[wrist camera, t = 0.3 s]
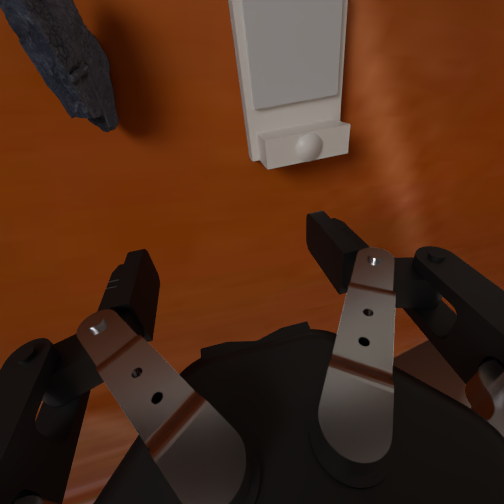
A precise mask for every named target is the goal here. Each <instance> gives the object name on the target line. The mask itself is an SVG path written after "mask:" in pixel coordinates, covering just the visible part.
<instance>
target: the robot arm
mask: <svg viewBox="0 0 504 504" xmlns="http://www.w3.org/2000/svg"><path fill="white" fill-rule="evenodd" d="M306 241H307V246H308V249H309V251H310V253H311V254H312V256H313V257H314V258H315V260H316V261H317V263H318V264H319V266H320V267H321V269H322V270H323V272H324V273H325V274H326V276H327V277H328V279H329V280H330V282H331V283H332V285H333V286H334V288H335V289H336V290H337V292H338V293H339V294H343V293H347V294H346V298H345V303H344V307H343V311H342V315H341V319H340V324H339V328H338V332H337V334H335V333H332V332H329V331H324V330H317V329H310V327H309V325H308V323H307V322H303V323H299V324H295V325H291V326H287V327H283V328H281V329H279V330H277V331H275V332H273V333H271V334H269V335H267V336H265V337H263V338H262V339H260V340H257V341H243V342H225V343H221V344H217V345H213V346H210V347H206V348H202V349H201V358H200V359H198V360H196V361H195V362H193V363H192V364H190V365H189V366H188V367H187V368H185V369H184V370H183V371H182V372H181V373H180V375H179V374H178V373H177V372H176V371H175V370H174V369H173V368H172V367H171V366H170V365H169V364H168V363H167V362H166V361H165V360H164V359H163V357H162V356H161V355H160V354H159V353H158V352H157V351H156V350H155V349H154V348H153V347H152V346H151V345H150V344H149V343H148V342H149V341H152V340H153V333H154V325H155V318H156V311H157V303H158V296H159V288H160V280H159V276H158V273H157V271H156V268H155V266H154V264H153V262H152V260H151V258H150V256H149V253H148V252H147V250H146V249H142V250H137V251H132V252H129V253H128V254H127V257H126V260H125V263H124V264H122V265H119V266H118V267H117V268H116V269H115V270H114V271H113V273H112V275H111V277H110V280H109V283H108V285H107V289H106V290H105V293H104V295H103V298H102V301H101V303H100V306H99V308H98V311H97V312H95V313H93V314H91V315H90V316H88V317H87V318H86V319H85V320H84V321H83V322H82V323H81V324H80V325H79V327H78V329H77V332H76V334H75V335H73V336H71V337H69V338H66V339H64V340H62V341H60V342H58V343H56V344H54V345H53V344H52V343H51V342H50V341H49V340H48V339H46V338H39V339H35V340H32V341H30V342H28V343H26V344H24V345H22V346H21V347H19V348H18V349H17V350H16V351H14V352H13V353H12V354H11V355H10V356H9V357H8V359H7V360H6V361H5V363H4V365H3V366H2V368H1V370H0V504H62V502H63V498H64V494H65V490H66V486H67V482H68V478H69V474H70V470H71V466H72V462H73V458H74V454H75V450H76V446H77V442H78V438H79V434H80V430H81V426H82V422H83V418H84V414H85V410H86V406H87V402H88V398H89V394H90V390H91V389H92V388H94V387H96V386H98V385H99V384H101V383H103V382H105V384H106V385H107V387H108V388H109V390H110V391H111V393H112V394H113V396H114V397H115V399H116V400H117V402H118V403H119V405H120V407H121V408H122V410H123V411H124V413H125V414H126V416H127V417H128V419H129V420H130V422H131V423H132V425H133V426H134V428H135V429H136V431H137V432H138V434H139V435H138V437H137V438H136V440H135V441H134V443H133V444H132V446H131V447H130V449H129V450H128V452H127V454H126V455H125V457H124V458H123V460H122V461H121V463H120V464H119V466H118V467H117V469H116V470H115V472H114V473H113V475H112V476H111V478H110V479H109V481H108V482H107V484H106V485H105V487H104V488H103V490H102V492H101V493H100V495H99V496H98V498H97V499H96V501H95V502H94V504H504V291H503V290H502V289H500V288H499V287H498V286H496V285H495V284H494V283H492V282H491V281H490V280H488V279H487V278H486V277H484V276H483V275H482V274H480V273H479V272H477V271H476V270H475V269H473V268H472V267H471V266H469V265H468V264H467V263H465V262H464V261H463V260H461V259H460V258H459V257H457V256H456V255H454V254H453V253H452V252H450V251H448V250H446V249H443V248H439V247H432V246H427V247H421V248H419V249H418V250H417V251H416V253H415V256H414V258H394V257H393V255H392V254H391V253H389V252H388V251H386V250H384V249H381V248H375V247H369V246H368V245H367V244H366V243H365V242H364V241H363V240H362V239H361V238H360V237H359V236H358V235H357V234H356V233H354V232H353V231H352V230H351V229H349V227H348V226H347V225H346V224H345V223H344V222H342V221H340V220H338V219H336V218H332V219H331V218H330V217H329V216H328V215H327V214H326V213H325V212H324V211H319V212H314V213H309V214H307V220H306ZM442 296H443V297H444V298H445V299H446V300H447V301H448V302H449V303H450V304H451V305H452V306H453V307H454V308H455V310H456V313H457V315H456V314H455V313H454V312H453V311H452V310H451V309H450V308H449V307H448V306H447V305H446V304H445V303H444V302H443V301H442V300H441V299H442ZM395 308H403V309H404V310H405V311H406V313H407V314H408V315H409V316H410V317H411V319H412V320H413V321H414V322H415V323H416V325H417V326H418V327H419V328H420V330H421V331H422V332H423V333H424V334H425V336H426V337H427V338H428V339H429V340H430V342H431V343H432V344H433V345H434V346H435V348H436V349H437V350H438V351H439V352H440V354H441V355H442V356H443V357H444V359H445V360H446V361H447V362H448V363H449V365H450V366H451V367H452V368H453V369H454V371H455V372H456V373H457V374H458V375H459V377H460V378H461V379H462V380H463V382H464V383H465V384H466V386H465V394H466V397H467V399H468V401H469V403H470V404H471V406H472V407H471V409H470V408H468V407H467V406H465V405H464V404H462V403H460V402H458V401H456V400H454V399H453V398H451V397H449V396H448V395H446V394H444V393H442V392H440V391H439V390H437V389H435V388H433V387H431V386H429V385H428V384H426V383H424V382H422V381H421V380H419V379H417V378H415V377H414V376H412V375H409V374H408V373H406V372H405V371H403V370H400V369H399V368H397V367H396V366H394V365H393V348H394V325H395ZM41 401H43V404H42V406H41V409H40V411H39V414H38V417H37V419H36V422H35V418H36V414H37V411H38V409H39V406H40V404H41Z"/></svg>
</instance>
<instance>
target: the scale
mask: <svg viewBox="0 0 504 504" xmlns="http://www.w3.org/2000/svg"><path fill="white" fill-rule="evenodd" d="M228 3H229V10H230V17H231V25H232V32H233V39H234V47H235V54H236V61H237V69H238V76H239V84H240V91H241V98H242V106H243V113H244V120H245V128H246V135H247V142H248V150H249V157H250V159H251V160H252V161H258V160H260V161H261V162H262V164H263V165H264V166H265V167H266V168H267V169H273V168H278V167H283V166H288V165H292V164H297V163H302V162H309V161H312V160H317V159H322V158H327V157H332V156H337V155H342V154H347V153H348V146H349V135H350V124H348V123H344V122H341V121H340V112H341V96H342V81H343V65H344V50H345V35H346V19H347V4H348V0H229V1H228Z"/></svg>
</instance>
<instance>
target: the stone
mask: <svg viewBox="0 0 504 504" xmlns="http://www.w3.org/2000/svg"><path fill="white" fill-rule="evenodd" d="M0 7H1V9H2V10H3V12H4V14H5V16H6V19H7V21H8V23H9V25H10V27H11V28H12V29H13V31H14V32H15V33H16V34H17V36H18V37H19V42H20V44H21V45H22V47H23V49H24V50H25V52H26V53H27V54H28V56H29V57H30V59H31V61H32V62H33V63H34V65H35V66H36V69H37V70H38V72H39V73H40V74H41V76H42V77H43V79H44V81H45V83H46V85H47V86H48V87H49V88H50V89H51V90H52V92H53V93H54V94H55V95H56V96H57V97H58V98H59V100H60V101H61V103H62V105H63V106H64V108H65V109H66V111H67V112H68V114H69V115H70V116H71V118H74V117H79V118H87V119H88V120H89V121H90V122H91V123H93V124H94V125H96V126H98V127H100V128H101V130H103V131H105V132H109V131H110V130H113V129H116V126H117V125H118V121H119V118H118V116H117V113H116V108H115V99H114V92H113V86H112V82H111V79H110V64H109V60H108V58H107V55H106V54H105V52H104V50H103V49H102V48H101V47H100V44H99V42H98V40H97V39H96V37H95V36H94V35H93V34H91V32H90V31H89V30H88V29H87V27H86V26H85V25H84V23H83V21H82V18H81V16H80V15H79V13H78V10H77V8H76V6H75V4H74V2H73V0H0Z"/></svg>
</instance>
